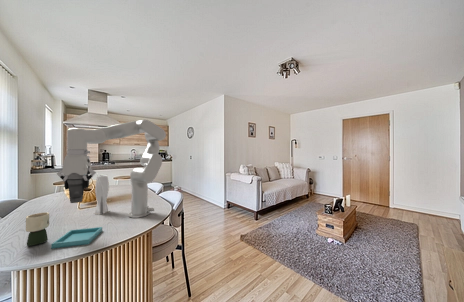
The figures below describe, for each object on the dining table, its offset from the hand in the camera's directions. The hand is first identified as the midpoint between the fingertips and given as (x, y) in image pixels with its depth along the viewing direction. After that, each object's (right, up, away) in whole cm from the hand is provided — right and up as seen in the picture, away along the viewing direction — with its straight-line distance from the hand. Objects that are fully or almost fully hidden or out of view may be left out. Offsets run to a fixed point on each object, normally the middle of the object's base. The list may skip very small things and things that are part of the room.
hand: (76, 188), depth 86 cm
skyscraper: (-12, -24, +32) cm, 42 cm away
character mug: (-11, -24, -8) cm, 27 cm away
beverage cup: (0, -7, 0) cm, 7 cm away
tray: (+5, -24, -4) cm, 24 cm away
